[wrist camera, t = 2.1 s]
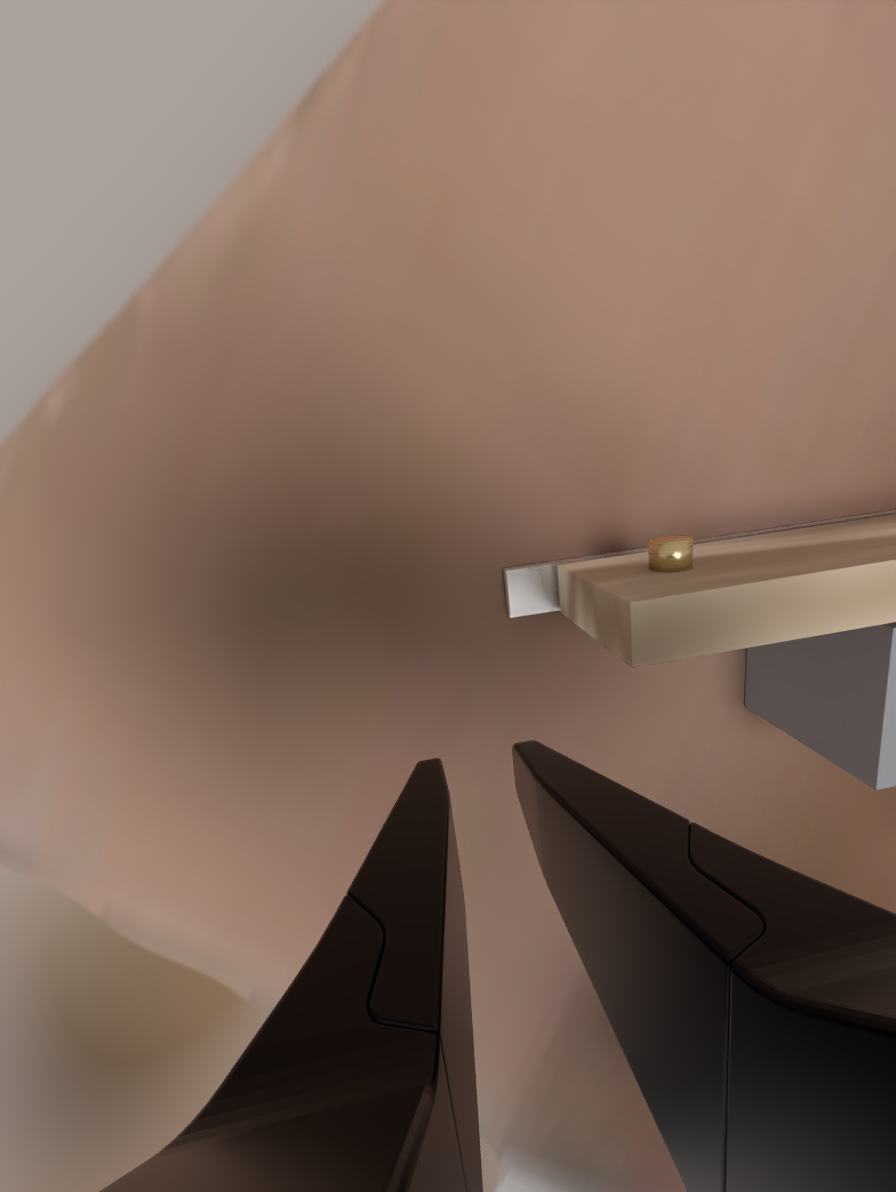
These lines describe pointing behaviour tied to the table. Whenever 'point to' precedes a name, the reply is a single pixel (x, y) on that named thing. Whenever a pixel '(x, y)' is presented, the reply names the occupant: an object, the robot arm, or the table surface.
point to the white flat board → (539, 582)
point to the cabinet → (833, 697)
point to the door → (734, 590)
